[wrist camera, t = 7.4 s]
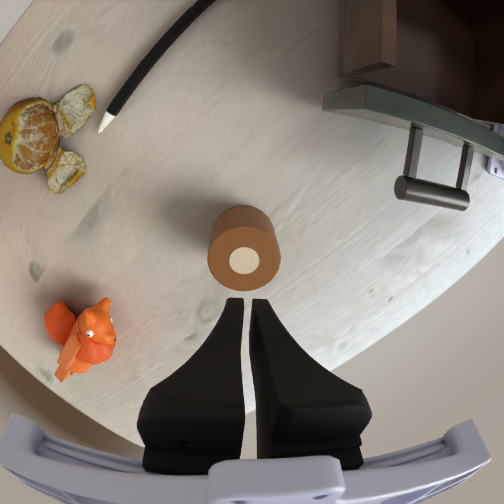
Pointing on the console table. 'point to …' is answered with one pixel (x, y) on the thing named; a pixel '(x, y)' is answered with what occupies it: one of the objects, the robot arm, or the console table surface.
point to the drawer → (426, 80)
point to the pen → (152, 60)
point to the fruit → (46, 136)
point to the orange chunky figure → (80, 336)
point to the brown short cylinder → (243, 249)
